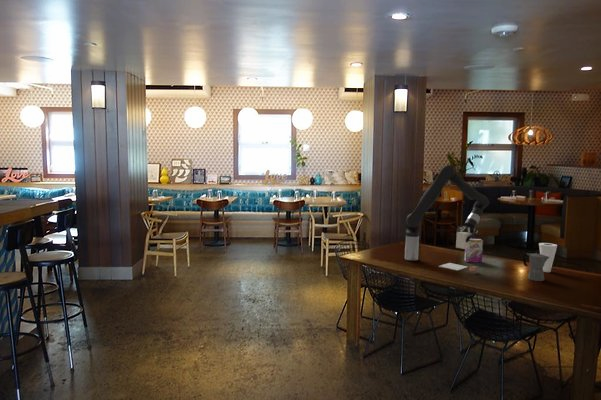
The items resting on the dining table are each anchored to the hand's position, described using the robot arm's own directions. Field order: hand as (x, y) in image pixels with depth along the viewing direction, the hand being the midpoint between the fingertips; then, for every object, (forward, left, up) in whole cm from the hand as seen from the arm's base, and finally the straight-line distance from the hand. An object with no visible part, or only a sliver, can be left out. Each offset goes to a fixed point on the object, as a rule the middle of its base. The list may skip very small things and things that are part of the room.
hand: (461, 240), depth 296 cm
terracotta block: (+7, -7, -20) cm, 22 cm away
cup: (+56, +6, -20) cm, 60 cm away
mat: (-3, +7, -20) cm, 21 cm away
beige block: (+1, +1, -5) cm, 5 cm away
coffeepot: (+41, -15, -20) cm, 48 cm away
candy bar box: (+14, +25, -20) cm, 35 cm away
